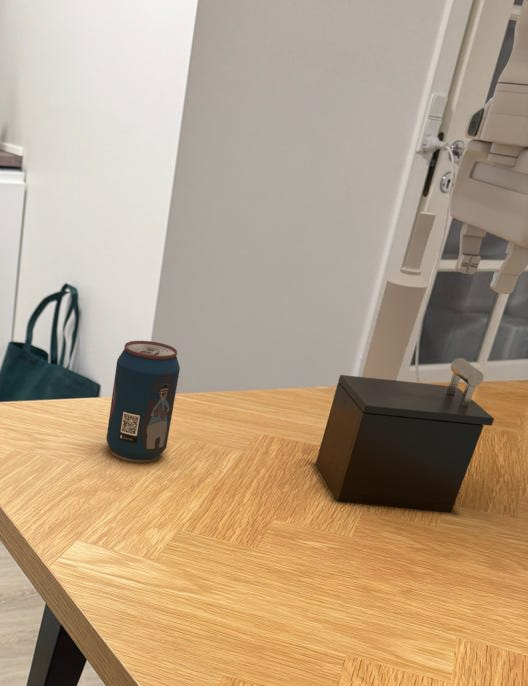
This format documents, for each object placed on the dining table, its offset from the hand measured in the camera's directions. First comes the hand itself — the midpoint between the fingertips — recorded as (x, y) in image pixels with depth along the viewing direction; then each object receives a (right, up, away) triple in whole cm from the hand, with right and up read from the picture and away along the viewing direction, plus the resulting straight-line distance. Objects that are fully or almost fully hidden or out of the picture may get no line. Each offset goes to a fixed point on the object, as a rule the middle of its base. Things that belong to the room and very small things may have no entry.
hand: (481, 282), depth 90 cm
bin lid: (-5, -11, +6) cm, 13 cm away
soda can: (-34, -15, +13) cm, 39 cm away
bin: (-6, -19, +11) cm, 23 cm away
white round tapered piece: (+3, -2, +38) cm, 38 cm away
